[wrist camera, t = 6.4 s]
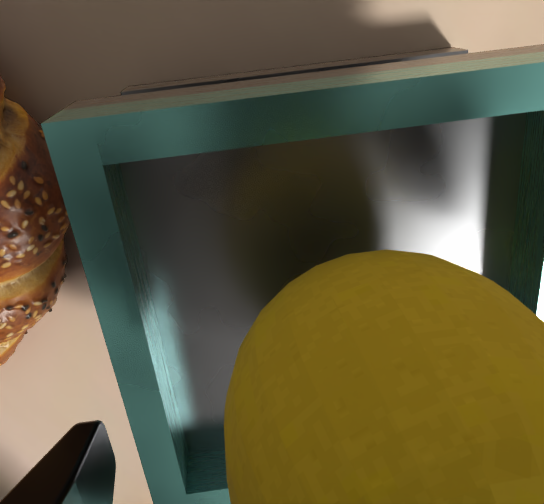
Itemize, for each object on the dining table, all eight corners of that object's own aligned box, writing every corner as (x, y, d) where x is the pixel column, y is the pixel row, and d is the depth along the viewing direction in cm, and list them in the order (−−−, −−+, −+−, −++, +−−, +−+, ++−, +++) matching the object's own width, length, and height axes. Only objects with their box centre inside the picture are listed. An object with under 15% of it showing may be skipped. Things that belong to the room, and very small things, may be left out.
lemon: (168, 361, 12) (151, 935, 5) (290, 140, 10) (576, 510, 3) (368, 426, 13) (578, 904, 6) (500, 250, 12) (993, 639, 5)
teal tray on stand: (449, 326, 18) (546, 465, 13) (178, 363, 18) (158, 522, 13) (463, 34, 14) (618, 53, 9) (113, 76, 14) (40, 123, 8)
